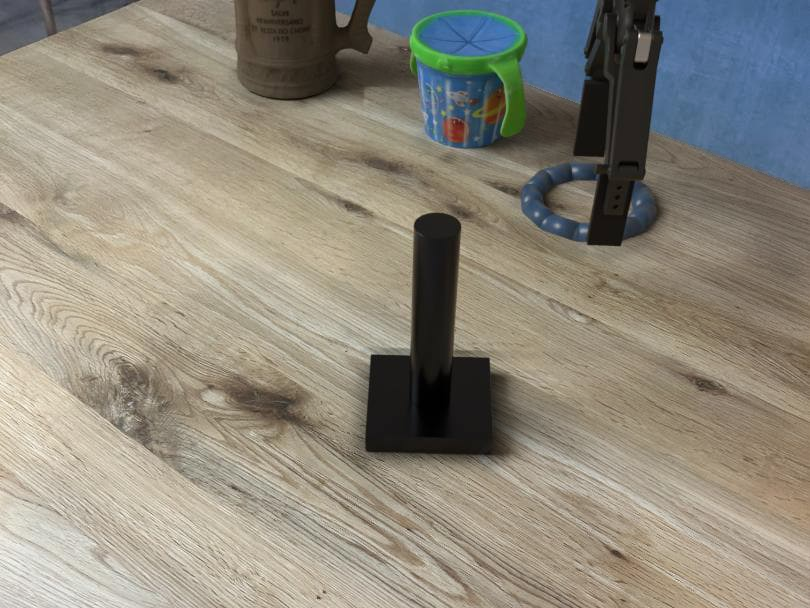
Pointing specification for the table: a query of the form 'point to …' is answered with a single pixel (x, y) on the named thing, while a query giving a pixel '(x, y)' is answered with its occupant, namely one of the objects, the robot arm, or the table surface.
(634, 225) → the ring
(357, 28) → the beer stein
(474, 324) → the table surface
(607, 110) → the robot arm
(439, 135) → the snack cup
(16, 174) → the table surface
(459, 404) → the post
